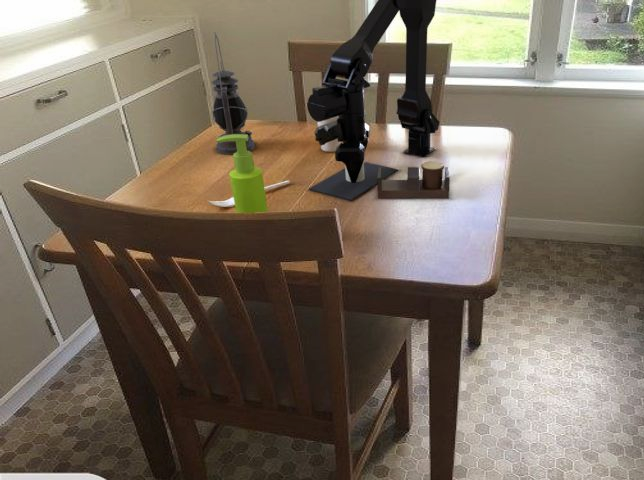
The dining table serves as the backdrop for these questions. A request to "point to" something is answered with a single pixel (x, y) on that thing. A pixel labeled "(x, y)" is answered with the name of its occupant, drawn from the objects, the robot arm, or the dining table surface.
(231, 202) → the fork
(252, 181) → the soap dispenser
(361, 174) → the coffee pod
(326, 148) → the drinking glass
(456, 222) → the dining table surface
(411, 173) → the pod rack
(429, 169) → the cylinder
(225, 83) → the lantern
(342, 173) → the mat
